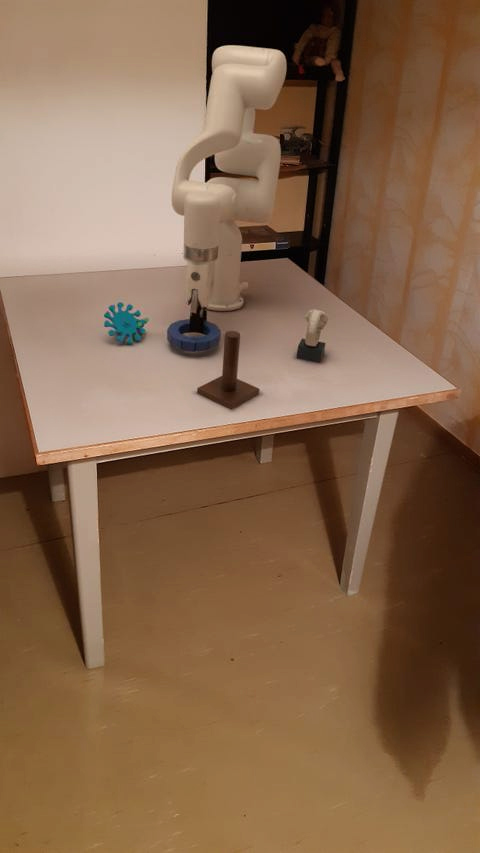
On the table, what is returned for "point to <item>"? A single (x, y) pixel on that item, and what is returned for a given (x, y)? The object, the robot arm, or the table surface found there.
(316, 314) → the ram head statue
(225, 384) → the stand
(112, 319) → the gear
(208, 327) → the ring
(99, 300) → the table surface
